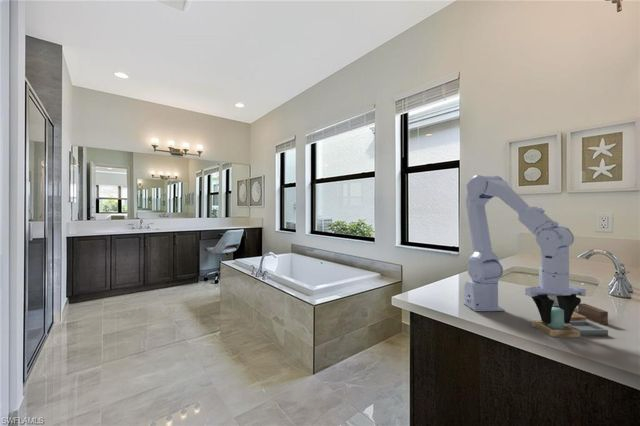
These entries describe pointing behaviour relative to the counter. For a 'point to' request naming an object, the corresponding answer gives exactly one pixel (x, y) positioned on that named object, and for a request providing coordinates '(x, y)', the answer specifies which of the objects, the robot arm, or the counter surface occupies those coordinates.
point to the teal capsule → (557, 319)
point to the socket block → (566, 332)
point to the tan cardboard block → (577, 317)
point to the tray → (588, 328)
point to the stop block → (593, 313)
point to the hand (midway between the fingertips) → (555, 322)
